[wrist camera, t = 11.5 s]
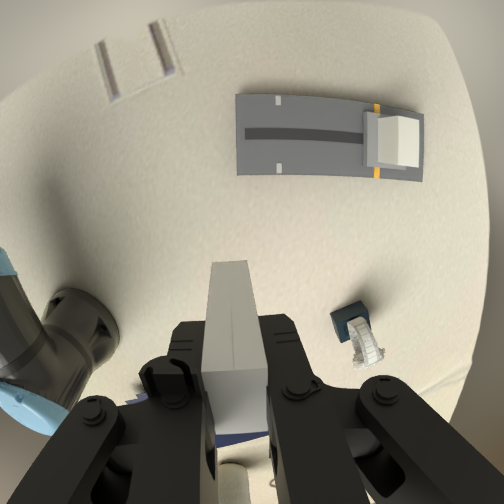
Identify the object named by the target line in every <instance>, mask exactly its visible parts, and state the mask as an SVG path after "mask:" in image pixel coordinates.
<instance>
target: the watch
mask: <svg viewBox="0 0 504 504" xmlns="http://www.w3.org/2000/svg"><path fill="white" fill-rule="evenodd" d="M330 315H331V318H332V322H333V325H334V329H335V332H336V334H337V336H338V338H339V340H340V342H341V343H343V342H345V341H348V340H350V339H351V342H352V345H353V348H354V351H355V353H356V354H354V358H353V364H354V368H355V369H365V368H369V367H372V366H374V365H376V364H378V363H379V362H380V361H382V360H383V358H384V354H383V353H385V349H384V348H383V349H380V348H378V346H377V342H376V340H375V338H374V336H373V333H372V331H371V325H370V320H369V314H368V310H367V309H366V307H365V306H364V305H363V303H362V302H361V301H358V302H356V303H354V304H351V305H349V306H347V307H344V308H342V309H340V310H337V311H335V312H332V313H330ZM370 338H371V339H370ZM368 339H369V340H368ZM373 339H374V340H373ZM358 341H359V342H358ZM363 341H364V342H363ZM354 345H355V346H354Z"/></svg>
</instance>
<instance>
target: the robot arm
mask: <svg viewBox="0 0 504 504" xmlns="http://www.w3.org/2000/svg"><path fill="white" fill-rule="evenodd" d="M17 275H18V274H17V272H16V271H15V270H14V268H13V266H12V264H11V262H10V260H9V258H8V255H7V253H6V251H5V250H4V249H3V248H1V247H0V406H1V408H2V409H3V410H5V411H6V412H7V413H8V414H9V415H10V416H12V417H13V418H14V419H16V420H17V421H18V422H20V423H21V424H23V425H25V426H26V427H28V428H30V429H32V430H34V431H36V432H39V433H42V434H46V435H51V436H52V437H51V438H50V440H49V441H48V442H47V444H46V445H45V447H44V448H43V449H42V451H41V452H40V454H39V455H38V457H37V458H36V460H35V461H34V462H33V464H32V465H31V467H30V468H29V470H28V471H27V473H26V474H25V476H24V477H23V479H22V480H21V482H20V483H19V485H18V486H17V488H16V489H15V491H14V493H13V494H12V496H11V498H10V499H9V500H8V502H7V504H219V498H218V467H217V448H216V445H215V432H216V435H217V434H239V433H252V432H263V431H269V437H270V446H269V458H271V460H272V466H273V472H274V478H275V484H276V490H277V496H278V502H279V504H370V501H369V499H368V496H367V493H366V491H367V492H368V493H369V495H370V496H371V497H372V499H373V500H374V501H375V503H376V504H504V475H502V474H501V473H500V472H499V471H498V470H497V469H496V468H495V467H494V466H493V465H492V464H491V463H490V462H489V461H488V460H487V459H486V458H484V456H482V455H481V454H480V453H479V452H478V451H477V450H476V449H475V448H474V447H473V446H472V445H471V444H470V443H468V441H466V439H465V438H463V437H462V436H461V435H460V434H459V433H458V432H457V431H456V430H455V429H454V428H453V427H452V426H451V425H450V424H449V423H448V422H447V421H445V420H444V419H443V418H442V417H441V416H440V415H439V414H438V413H437V412H436V411H435V410H434V409H433V408H432V407H430V406H429V405H428V404H427V403H426V402H425V401H424V400H423V399H422V398H421V397H420V396H419V395H418V394H417V393H415V392H414V391H413V390H412V389H411V388H410V387H409V386H408V385H407V384H406V383H405V382H403V381H401V380H400V379H398V378H396V377H393V376H389V375H378V376H375V377H371V378H369V379H368V380H366V381H365V382H364V383H363V384H362V386H361V388H360V389H347V388H336V387H332V386H329V385H326V384H324V383H323V381H322V380H321V379H320V378H319V377H317V376H315V375H314V373H313V372H312V369H311V366H310V364H309V361H308V358H307V356H306V353H305V351H304V348H303V345H302V343H301V341H300V337H299V335H298V333H297V329H296V327H295V324H294V322H293V321H292V320H291V319H290V318H289V317H288V316H286V315H285V314H276V315H265V316H258V315H257V310H256V305H255V299H254V294H253V289H252V284H251V279H250V273H249V268H248V263H247V260H243V261H228V262H213V263H212V267H211V275H210V284H209V293H208V302H207V312H206V321H187V322H180V324H179V325H178V326H177V327H176V328H175V329H174V330H173V333H172V337H171V343H170V345H169V349H168V350H169V351H168V353H167V356H160V357H157V358H155V359H152V360H150V361H149V362H148V363H146V364H145V365H144V366H143V367H142V368H141V370H140V372H139V373H138V374H139V376H140V379H141V381H142V384H143V386H144V389H145V391H146V393H147V396H148V398H147V399H145V400H143V401H141V402H137V403H133V404H128V405H122V406H116V405H115V403H114V402H113V400H111V399H109V398H107V397H105V396H99V395H95V396H89V397H86V398H84V399H82V400H80V401H79V398H80V396H81V394H82V392H83V390H84V388H85V386H86V384H87V382H88V380H89V378H90V376H91V374H92V373H93V372H94V371H95V370H96V369H98V368H99V367H100V366H102V365H103V364H104V363H106V362H107V361H108V360H109V359H110V358H111V357H112V356H113V354H114V352H115V350H116V348H117V346H118V343H119V333H118V329H117V326H116V323H115V321H114V319H113V317H112V316H111V314H110V313H109V311H108V310H107V309H106V308H105V307H104V306H103V305H102V304H101V303H100V302H99V301H98V300H97V299H95V298H94V297H93V296H91V295H89V294H88V293H86V292H83V291H81V290H77V289H63V290H60V291H59V292H57V293H56V294H55V295H54V296H53V297H52V298H51V299H50V300H49V302H48V303H47V305H46V308H45V311H44V313H43V316H42V319H41V322H40V320H39V318H38V316H37V315H36V313H35V311H34V309H33V307H32V305H31V303H30V302H29V300H28V298H27V296H26V294H25V292H24V290H23V288H22V285H21V283H20V281H19V279H18V276H17ZM78 401H79V402H78ZM365 489H366V490H365Z"/></svg>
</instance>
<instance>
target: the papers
mask: <svg viewBox="0 0 504 504" xmlns="http://www.w3.org/2000/svg"><path fill="white" fill-rule="evenodd" d="M136 396H137V397H138V399H134V400H128V401H125V402H126V403H127V404H133V403H137V402H141V401H143V400H145V399H147V398H148V396H147V393H142V394H137V395H136ZM267 435H269V431H263V432H252V433H239V434H217V435H216V432H215V445H216V448H220V447H225V446H229V445H233V444H237V443H241V442H245V441H249V440H253V439H256V438H260V437H264V436H267Z"/></svg>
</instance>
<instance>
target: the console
mask: <svg viewBox="0 0 504 504" xmlns="http://www.w3.org/2000/svg"><path fill="white" fill-rule="evenodd" d="M235 96H236V148H237V175H328V176H352V177H369V178H383V179H395V180H406V181H416V182H422V178H423V158H424V114H420V113H416V112H412V111H408V110H403V109H399V108H394V107H389V106H383V105H380V104H372V103H366V102H360V101H353V100H345V99H337V98H327V97H316V96H303V95H283V94H235ZM363 112H373V113H379V114H385V115H390V116H403V117H407V118H412V119H416V120H419V168H417V167H410V166H406V170H399V169H390V168H379V167H367V166H363Z"/></svg>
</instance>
